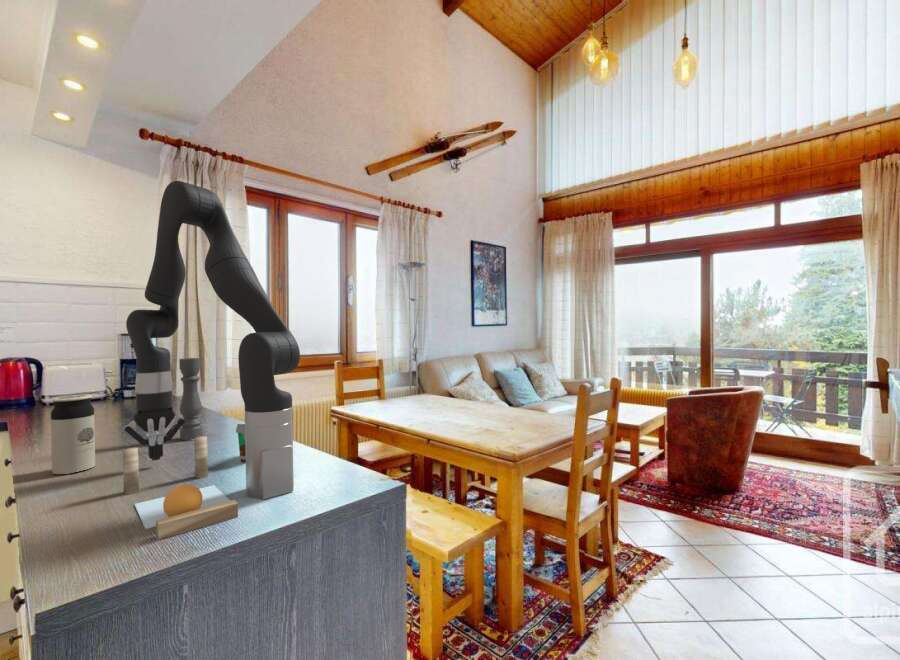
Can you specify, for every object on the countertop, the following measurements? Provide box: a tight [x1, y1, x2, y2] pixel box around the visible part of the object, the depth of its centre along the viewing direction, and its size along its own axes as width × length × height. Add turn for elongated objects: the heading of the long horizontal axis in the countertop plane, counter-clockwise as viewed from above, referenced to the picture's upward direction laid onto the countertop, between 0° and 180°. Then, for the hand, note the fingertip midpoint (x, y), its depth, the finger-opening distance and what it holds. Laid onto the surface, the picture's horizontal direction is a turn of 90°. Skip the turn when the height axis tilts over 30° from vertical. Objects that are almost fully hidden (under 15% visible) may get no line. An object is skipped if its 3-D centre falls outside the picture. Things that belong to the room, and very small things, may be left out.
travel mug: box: [50, 394, 96, 475], centre depth 105 cm, size 8×8×18 cm
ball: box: [163, 483, 202, 517], centre depth 77 cm, size 6×6×6 cm
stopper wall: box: [155, 499, 239, 541], centre depth 74 cm, size 2×12×2 cm, turn 133°
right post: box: [193, 435, 209, 479], centre depth 99 cm, size 3×3×9 cm
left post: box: [122, 446, 140, 495], centre depth 90 cm, size 3×3×9 cm
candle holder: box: [178, 357, 204, 441], centre depth 134 cm, size 6×6×25 cm
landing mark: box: [134, 484, 231, 530], centre depth 83 cm, size 14×14×1 cm
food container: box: [235, 423, 246, 463], centre depth 113 cm, size 12×6×10 cm, turn 168°
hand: (155, 459), depth 106 cm, fingers closed
